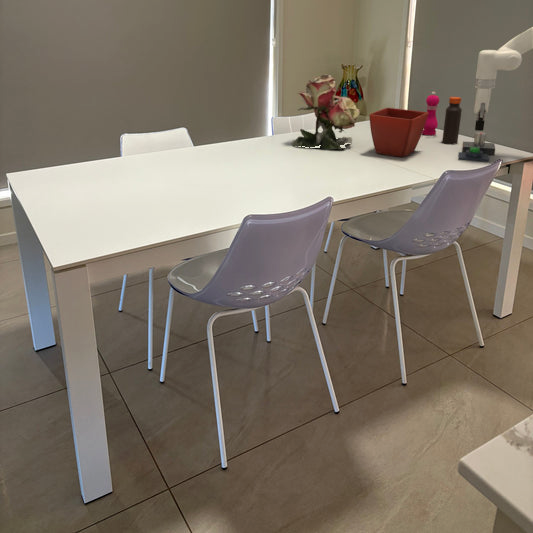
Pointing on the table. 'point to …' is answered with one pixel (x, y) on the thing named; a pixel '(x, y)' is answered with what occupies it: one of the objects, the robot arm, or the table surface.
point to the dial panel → (480, 147)
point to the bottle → (452, 121)
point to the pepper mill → (431, 115)
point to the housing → (473, 156)
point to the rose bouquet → (327, 114)
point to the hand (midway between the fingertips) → (479, 130)
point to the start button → (474, 149)
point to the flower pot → (396, 130)
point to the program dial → (479, 138)
